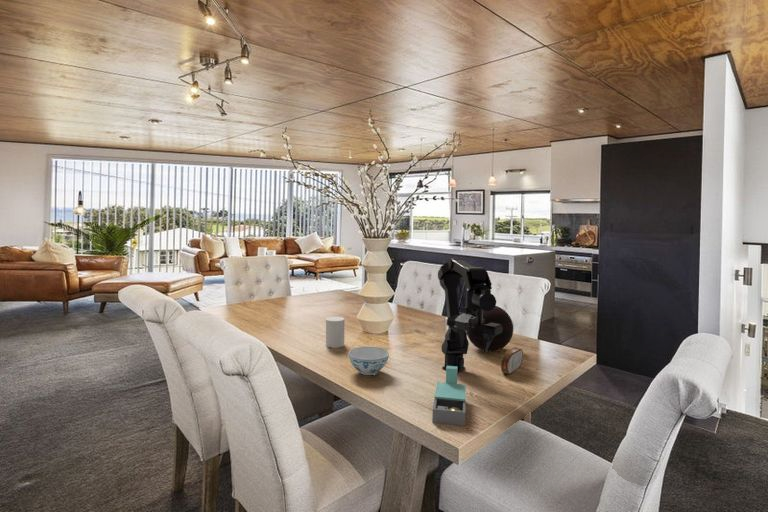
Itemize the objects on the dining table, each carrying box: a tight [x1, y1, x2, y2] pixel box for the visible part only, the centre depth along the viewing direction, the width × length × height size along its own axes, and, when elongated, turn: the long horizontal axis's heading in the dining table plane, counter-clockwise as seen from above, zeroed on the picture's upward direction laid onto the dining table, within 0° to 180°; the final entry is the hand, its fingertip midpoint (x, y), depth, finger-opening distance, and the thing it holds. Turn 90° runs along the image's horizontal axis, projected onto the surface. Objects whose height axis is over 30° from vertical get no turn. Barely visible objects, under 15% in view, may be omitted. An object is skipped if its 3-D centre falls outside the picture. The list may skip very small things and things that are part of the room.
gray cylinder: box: [325, 316, 345, 349], centre depth 191 cm, size 8×8×12 cm
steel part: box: [437, 406, 448, 410], centre depth 123 cm, size 3×3×3 cm
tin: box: [500, 346, 524, 375], centre depth 163 cm, size 15×3×8 cm, turn 141°
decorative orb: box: [466, 305, 514, 352], centre depth 187 cm, size 20×20×20 cm
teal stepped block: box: [434, 366, 467, 402], centre depth 133 cm, size 14×9×10 cm, turn 169°
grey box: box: [431, 398, 466, 427], centre depth 125 cm, size 10×9×4 cm
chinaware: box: [348, 345, 390, 376], centre depth 159 cm, size 15×15×8 cm
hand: (472, 349), depth 147 cm, fingers open, 9 cm apart
